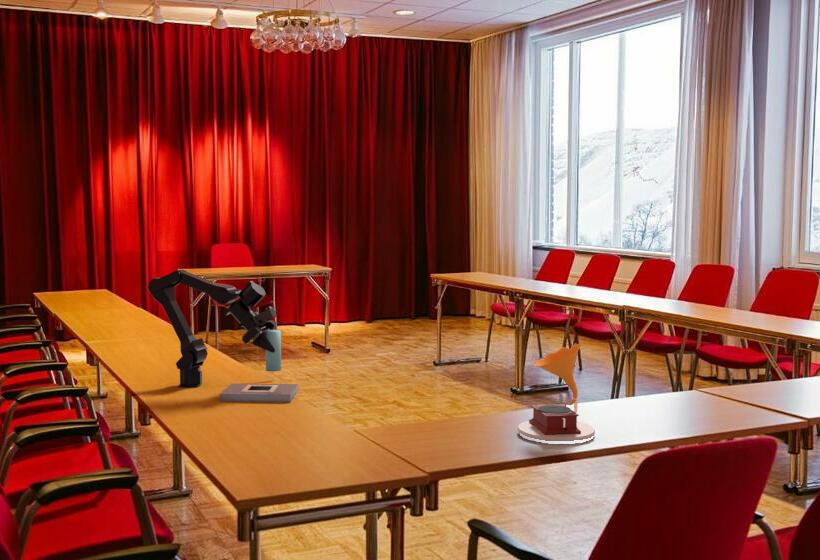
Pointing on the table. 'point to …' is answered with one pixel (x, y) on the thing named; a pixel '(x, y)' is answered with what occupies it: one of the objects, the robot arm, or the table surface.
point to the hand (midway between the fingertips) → (277, 350)
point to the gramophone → (558, 418)
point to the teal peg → (274, 358)
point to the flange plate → (259, 393)
